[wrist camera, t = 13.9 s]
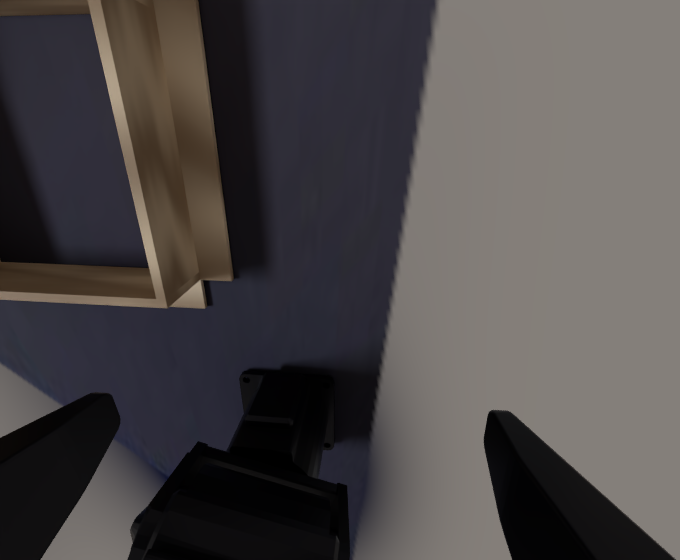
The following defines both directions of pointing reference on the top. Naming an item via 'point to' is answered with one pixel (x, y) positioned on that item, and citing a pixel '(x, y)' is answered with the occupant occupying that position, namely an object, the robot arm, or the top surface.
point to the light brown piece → (147, 159)
